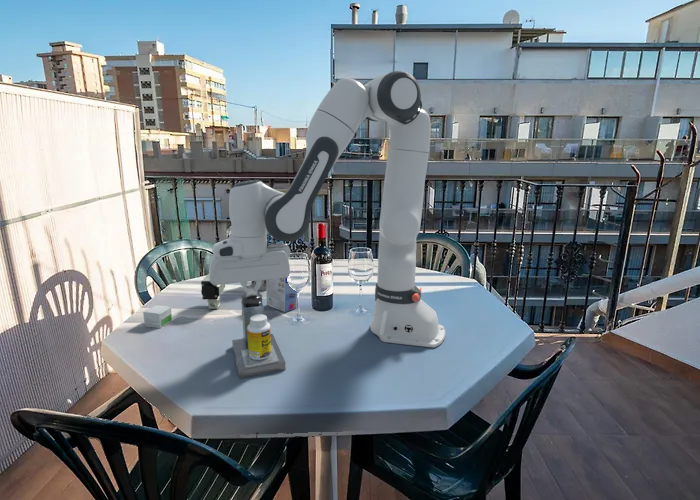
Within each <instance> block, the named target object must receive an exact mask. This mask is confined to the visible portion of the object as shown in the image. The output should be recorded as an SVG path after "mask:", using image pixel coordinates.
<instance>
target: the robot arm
mask: <svg viewBox="0 0 700 500" xmlns="http://www.w3.org/2000/svg"><path fill="white" fill-rule="evenodd" d="M419 85H420V84H419V82H418V81H417V79H416V78H415V76H413V75H412V74H411V73H409V72H407V71H406V72H405V71H402V70H394V71H391V72H386V73H384V74H380V75H378V76H376V77H375V78H373V79H371V80H368V81H367V82H364V83H363V84H362V83H361V82H360V81H358V80H357V79H354V78H351V77H344V78H340V79H339V80H338V81H336V83H335V84H333V86H332V87H331V88H330V90H329V91H328V92H327V93H326V95H325V96H324V97H323V98H322V100H321V102H320V104H319V105H318V106H317V108H316V110H315V112H314V114H313V115H312V118H311V120H310V122H309V125H308V127H307V131H306V132H305V143H306V144H305V145H306V148H305V150H306V151H305V156H304V159H303V162H302V164H301V166H300V168H299V169H298V171H297V173H296V175H295V177H294V179H293V181H292V182H291V184H290V187H289V188H288V190H287V191H286V192H282V191H279V190H277V189H274V188H273V187H270V186H268V185H267V184H265V183H264V182H263V181H262V180H259V179H251V180H243V181H240V182H237V183H235V184H234V185H233V186H232V187H231V188H230V191H229V195H228V212H229V214H228V215H229V221H230V223H231V229H230V237H229V238H226V239H224V240H221V241H218V242H216V243H213V245H212V252H213V254H212V255H211V257H210V259H209V266H208V267H209V268H208V272H209V279H210V282H211V283H212V284H213V285H220V284H225V285H227V284H237V283H239V284H240V286H241V287H242V289H243V290H244V291H245V294H246V298H247V297H255V296H258V293H259V292H258V291H259V290H258V289H259V288H260V286H261V284H262V281H261V280H267V279H277V278H286V277H288V276H289V274H290V273H291V267H290V261H289V260H290V259H289V258H290V256H291V249H290V247H289V245H288V244H286V243H284V242H290V243H291V242H293V241H296V240H299V239H301V238H302V237H303V236H304V235H305V234H306V232H307V231H308V229H309V226H310V222H311V214H312V212H311V211H312V207H313V204H314V203H315V200H316V198H317V196H318V195H319V193H320V191H321V189H322V187H323V185H324V183H325V181H326V180H327V177H328V175H329V174H330V172H331V169H332V168H333V167H334V166H335V164H336V163H337V161H338V159H339V158H340V157H341V155H342V154H343V152H344V151H345V150H346V149H347V147H348V145H349V144H350V143H351V141H352V140H353V138H354V135H356V133H357V131H358V128H360V126H361V123H362V122H364V120H368V121H372V122H386V123H387V125H388V128H389V141H388V150H387V156H386V164H385V165H386V166H385V172H384V173H385V175H384V182H383V190H382V199H381V207H380V215H379V224H378V225H379V226H378V227H379V232H378V233H379V235H378V237H379V238H378V257H377V277H376V278H377V282H376V283H375V289H374V298H375V299H374V300H375V305H374V312H373V317H372V320H371V322H370V325H369V326H370V327H369V329H370V330H371V332H372V333H373V334H374V335H376V336H378V338H379V339H380V341H381V342H383V343H390V344H398V345H407V346H416V347H426V348H436V347H438V346H440V345H441V344H442V343H443V342H444V341H443V340H445V338H446V328H445V327H444V326H443V325H442V324H439V319H438V314H437V312H436V310H434V309H433V308H432V307H431V306H429V305H428V304H427V303H426V302H425V301H424V300H422V299H421V297H422V287H420V288H419V287H417V286H416V285H415V284H416V283H415V282H416V269H417V267H416V266H417V237H418V235H419V233H420V230H421V225H422V224H421V223H422V216H423V206H424V195H425V184H426V183H425V182H426V176H427V169H428V163H429V155H430V151H431V150H430V148H431V136H432V135H431V134H432V133H431V132H432V130H431V129H432V128H431V127H432V125H431V116H430V115H429V113H428V112H427V111H426V110H424V109H423V103H422V97H421V95H422V94H421V89H420V86H419ZM267 233H269V235H270V236H271V237H272V238H273V239H276V240H278V241H280V242H278V243H268V235H267ZM251 281H255V282H256V285H255V287H254V288H253V289H252V288H248V287H247V286H248V282H251Z"/></svg>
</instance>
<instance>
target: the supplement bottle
mask: <svg viewBox="0 0 700 500" xmlns="http://www.w3.org/2000/svg"><path fill="white" fill-rule="evenodd" d="M247 334H248V354H249V357H250V358H251V359H254V360H262V359H266V358H268V357H269V356H270V354H271V334H272V333H271V324H270V323H269V322H268V317H267V315H265V314H264V315H263V314H257V315H253V316H252V317H251V318H250V324H249V325H248V327H247Z"/></svg>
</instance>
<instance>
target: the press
mask: <svg viewBox="0 0 700 500" xmlns="http://www.w3.org/2000/svg"><path fill="white" fill-rule="evenodd" d="M240 303H241V317H242V318H241V319H242V320H241V321H242V335H243V337H242V338H238V339H232V340H231V342H232V343H231V344H232V350H233V355H234V361H235V364H236V365H235V366H236V368H237V369H236V370H237V373H238V374H237V375H238V378H239V379H240V380H241V379H244V378H249V377H255V376H261V375H263V374H271V373H274V372H275V373H276V372H280V371H284V370H286V368H287V367H286V360H285V359H284V356H283V354H282V351H281V349H280V347H279V345H278V343H277V341H276V338H275V336H274V333H271V354H270V356H269V357H268V358H266V359H262V360H254V359H251V358H250V357H249V354H248V334H247V327H248V325H249V324H250V318H251V317H252V316H253V315H257V314H263V315H265V313H264V312H265V311H264V310H265V309H264V308H265V307H264V306H265V305H264V303H263V302H262V303H260V304H258V305H254V306H248V305H244V304H242V300H241V302H240Z"/></svg>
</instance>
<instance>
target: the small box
mask: <svg viewBox="0 0 700 500" xmlns="http://www.w3.org/2000/svg"><path fill="white" fill-rule="evenodd" d="M142 314H143V321H144V323H143V324H144V327H147V326H149V327H148V328H155V327H156V329H161V328H162V327H164V326H166V325H167V324H169V323H170V322H173V314H172V307H171V306H167V305H161V304H160V305H158V304H155V305H154V306H151V307H149V308H148V309H146V310H144V311H143V313H142Z"/></svg>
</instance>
